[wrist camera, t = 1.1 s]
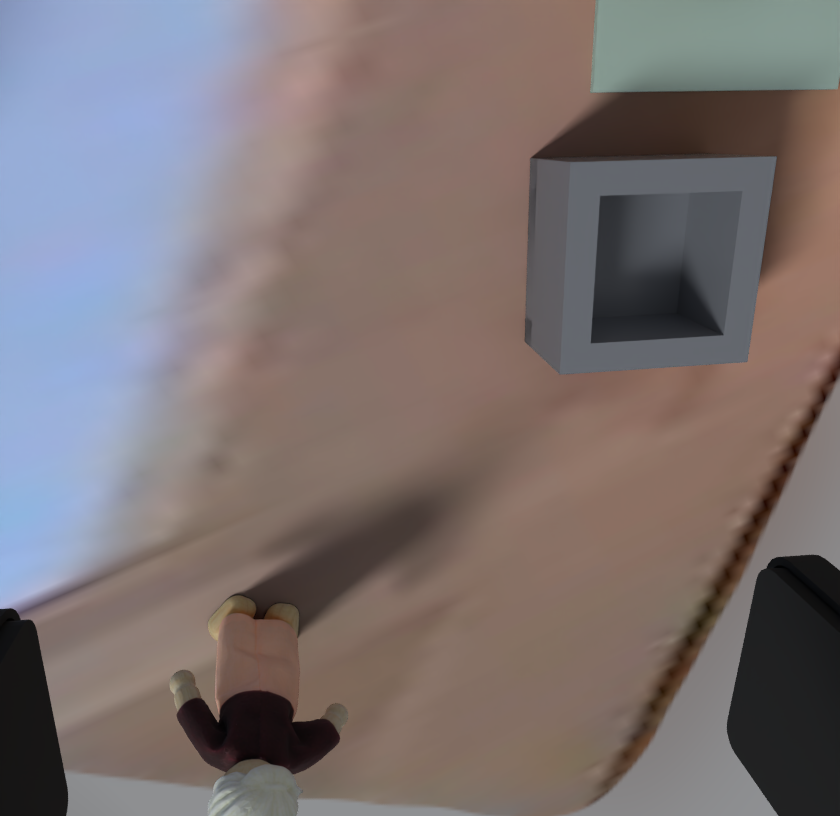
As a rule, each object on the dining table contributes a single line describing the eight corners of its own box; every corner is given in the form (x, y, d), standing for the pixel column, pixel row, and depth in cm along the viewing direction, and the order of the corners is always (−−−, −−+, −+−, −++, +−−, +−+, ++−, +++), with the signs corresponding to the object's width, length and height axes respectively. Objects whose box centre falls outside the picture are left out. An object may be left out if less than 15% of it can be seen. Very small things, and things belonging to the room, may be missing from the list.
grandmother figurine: (186, 652, 37) (130, 895, 25) (190, 588, 36) (133, 811, 24) (338, 658, 38) (352, 890, 26) (347, 595, 37) (367, 810, 25)
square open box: (530, 158, 31) (570, 162, 26) (708, 153, 32) (777, 156, 27) (524, 341, 34) (559, 374, 29) (688, 331, 35) (747, 362, 30)
